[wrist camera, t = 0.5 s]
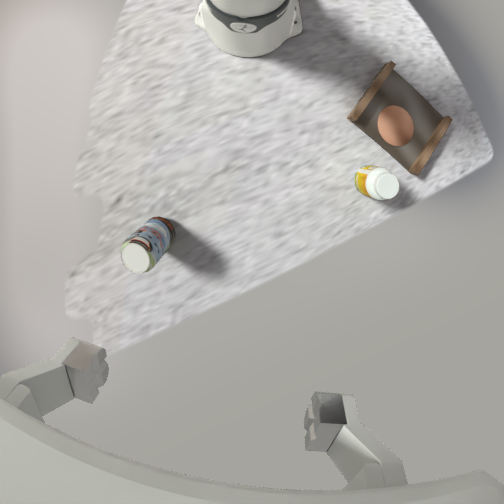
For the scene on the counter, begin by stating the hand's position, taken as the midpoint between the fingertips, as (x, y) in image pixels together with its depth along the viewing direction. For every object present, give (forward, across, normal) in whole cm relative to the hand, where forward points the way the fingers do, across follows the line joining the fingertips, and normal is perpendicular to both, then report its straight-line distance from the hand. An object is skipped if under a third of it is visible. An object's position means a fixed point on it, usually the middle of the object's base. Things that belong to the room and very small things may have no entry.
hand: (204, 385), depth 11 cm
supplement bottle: (+47, -18, -5) cm, 51 cm away
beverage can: (+43, +17, +11) cm, 48 cm away
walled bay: (+48, -23, -18) cm, 56 cm away
